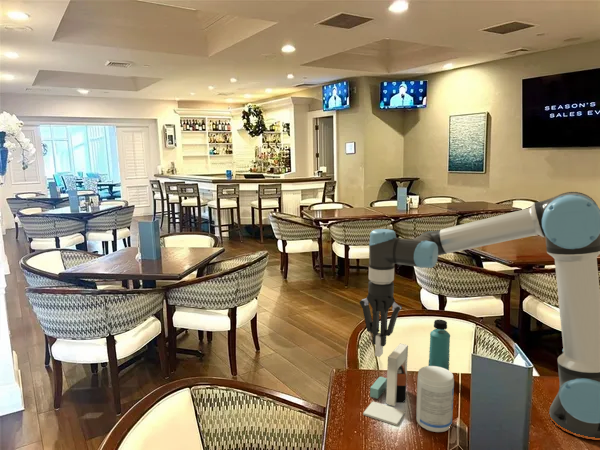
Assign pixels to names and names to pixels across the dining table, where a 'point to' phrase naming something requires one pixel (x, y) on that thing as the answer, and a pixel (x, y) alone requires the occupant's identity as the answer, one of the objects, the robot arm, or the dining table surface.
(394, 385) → the white u-shaped bracket
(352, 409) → the dining table surface
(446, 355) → the beverage bottle
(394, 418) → the mat
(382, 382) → the block
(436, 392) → the supplement tub
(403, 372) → the battery
